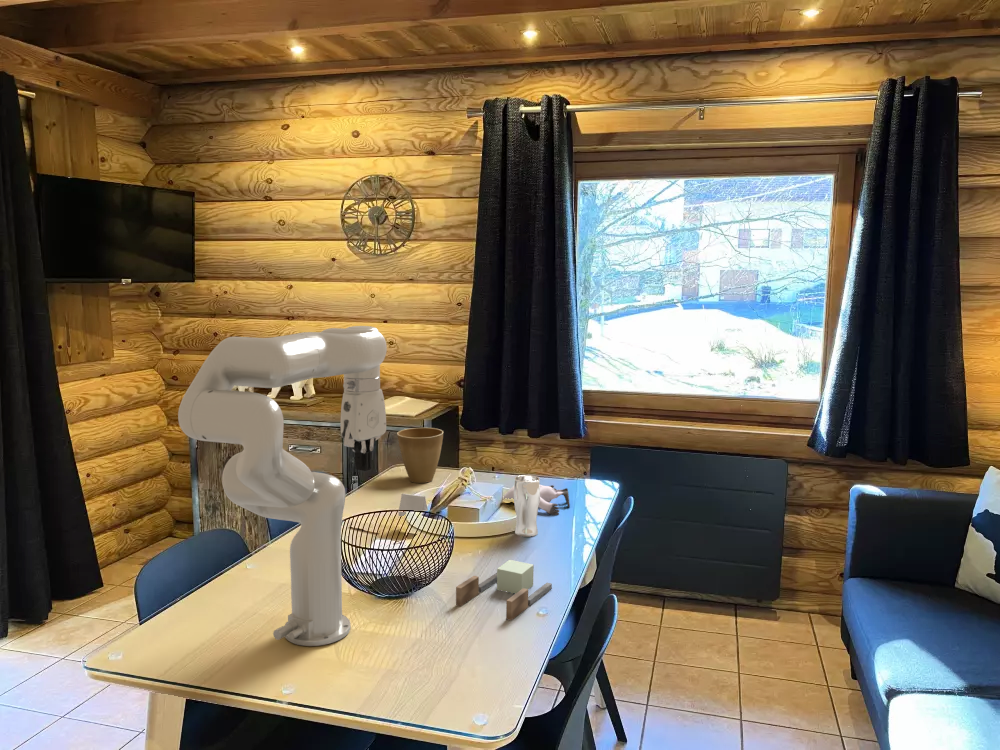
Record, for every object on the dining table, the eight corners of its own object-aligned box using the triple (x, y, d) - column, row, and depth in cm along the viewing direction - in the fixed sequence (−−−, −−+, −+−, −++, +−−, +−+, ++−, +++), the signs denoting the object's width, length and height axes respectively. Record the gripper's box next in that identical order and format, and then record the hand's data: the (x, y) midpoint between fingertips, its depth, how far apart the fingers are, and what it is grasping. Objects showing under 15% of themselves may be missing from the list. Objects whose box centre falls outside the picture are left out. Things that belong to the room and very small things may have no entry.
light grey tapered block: (421, 535, 206) (421, 498, 204) (398, 532, 208) (398, 495, 207) (427, 530, 209) (427, 494, 208) (405, 527, 212) (404, 491, 210)
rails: (530, 605, 165) (530, 600, 165) (476, 591, 172) (476, 586, 172) (551, 588, 174) (551, 583, 174) (499, 575, 180) (499, 570, 180)
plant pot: (430, 471, 267) (430, 425, 264) (451, 482, 254) (451, 434, 252) (390, 477, 259) (389, 430, 256) (409, 489, 246) (409, 439, 244)
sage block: (521, 595, 170) (521, 574, 170) (496, 590, 173) (497, 568, 172) (533, 585, 176) (533, 564, 175) (509, 580, 178) (509, 559, 178)
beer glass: (544, 531, 210) (545, 477, 207) (531, 539, 204) (532, 483, 202) (521, 526, 213) (522, 473, 211) (508, 534, 207) (508, 479, 205)
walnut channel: (511, 620, 158) (511, 601, 158) (455, 604, 165) (456, 586, 165) (527, 607, 164) (528, 589, 164) (473, 593, 171) (474, 575, 171)
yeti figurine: (572, 502, 242) (508, 497, 245) (573, 481, 241) (509, 476, 245) (567, 517, 222) (497, 511, 226) (568, 494, 222) (498, 488, 225)
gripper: (352, 391, 157) (353, 480, 160) (398, 381, 170) (398, 464, 173) (324, 388, 161) (325, 474, 164) (371, 378, 174) (372, 459, 177)
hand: (363, 469), depth 168 cm, fingers closed
